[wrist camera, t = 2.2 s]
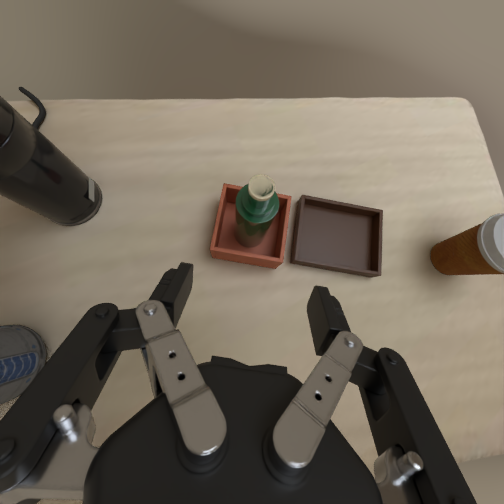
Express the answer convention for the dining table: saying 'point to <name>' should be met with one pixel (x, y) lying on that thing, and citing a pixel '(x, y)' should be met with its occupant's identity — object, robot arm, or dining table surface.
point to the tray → (338, 237)
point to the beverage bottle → (19, 359)
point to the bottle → (255, 211)
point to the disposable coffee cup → (473, 250)
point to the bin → (231, 250)
